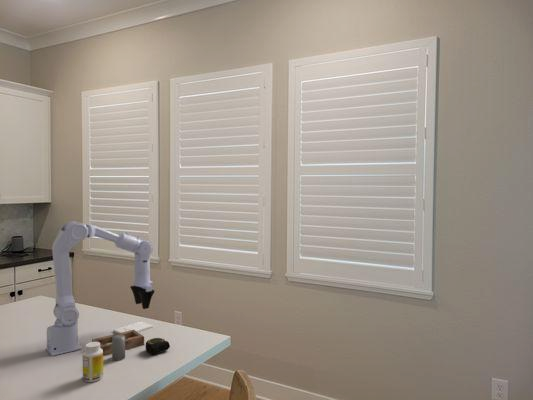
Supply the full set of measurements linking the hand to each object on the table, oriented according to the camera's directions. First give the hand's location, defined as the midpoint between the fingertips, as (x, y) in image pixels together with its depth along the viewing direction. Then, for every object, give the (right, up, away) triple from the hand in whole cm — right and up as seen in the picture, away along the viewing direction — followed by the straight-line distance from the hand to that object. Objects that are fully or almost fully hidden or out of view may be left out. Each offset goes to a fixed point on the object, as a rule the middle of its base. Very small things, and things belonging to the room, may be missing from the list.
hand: (142, 306), depth 156 cm
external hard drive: (-4, -11, +2) cm, 12 cm away
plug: (0, -11, -24) cm, 26 cm away
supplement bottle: (-3, -12, -38) cm, 40 cm away
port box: (-4, -11, -14) cm, 18 cm away
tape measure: (+11, -11, -18) cm, 24 cm away
